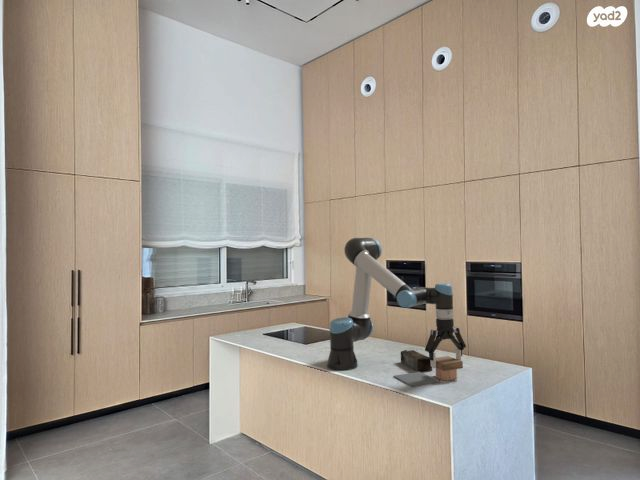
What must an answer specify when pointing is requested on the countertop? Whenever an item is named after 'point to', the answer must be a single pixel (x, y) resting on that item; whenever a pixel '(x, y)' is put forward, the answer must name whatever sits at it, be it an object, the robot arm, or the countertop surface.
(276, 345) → the countertop surface
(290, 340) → the countertop surface
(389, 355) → the countertop surface
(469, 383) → the countertop surface
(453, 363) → the lid
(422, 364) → the beverage carton
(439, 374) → the pot
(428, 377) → the mat
